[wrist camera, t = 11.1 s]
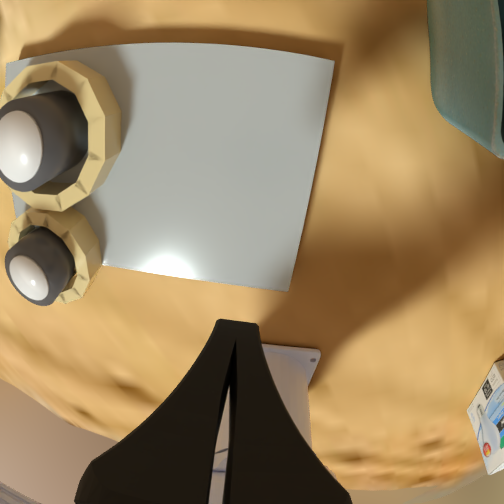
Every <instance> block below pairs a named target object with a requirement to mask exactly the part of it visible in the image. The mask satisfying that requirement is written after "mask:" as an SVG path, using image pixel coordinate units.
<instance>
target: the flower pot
mask: <svg viewBox="0 0 504 504" xmlns="http://www.w3.org/2000/svg"><path fill="white" fill-rule="evenodd" d="M427 17H428V27H429V40H430V62H431V91H432V97H433V101H434V104H435V106H436V108H437V110H438V111H439V113H440V114H441V115H442V116H443V118H444V119H445V120H446V121H448V122H449V123H450V124H451V125H453V126H454V127H456V128H457V129H459V130H460V131H462V132H463V133H465V134H466V135H467V136H469V137H470V138H472V139H473V140H475V141H476V142H478V143H479V144H481V145H482V146H483V147H485V148H486V149H487V150H489V151H490V152H492V153H493V154H494V155H495V156H497V157H498V158H501V159H504V0H427Z"/></svg>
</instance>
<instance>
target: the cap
mask: <svg viewBox="0 0 504 504" xmlns="http://www.w3.org/2000/svg"><path fill="white" fill-rule="evenodd" d="M87 151H88V120H87V118H86V116H85V114H84V112H83V110H82V108H81V106H80V104H79V102H78V99H77V97H76V95H75V94H73V93H71V92H68V91H63V90H62V91H53V92H47V93H42V94H37V95H32V96H27V97H23V98H18V99H14V100H11V101H9V102H7V103H6V104H5V105H4V106H3V107H2V108H1V109H0V178H1V179H2V180H3V181H4V182H5V183H6V184H7V185H8V186H9V187H11V188H12V189H14V190H16V191H20V192H29V191H32V190H34V189H36V188H38V187H39V186H41V185H43V184H44V183H46V182H48V181H49V180H51V179H53V178H55V177H56V176H58V175H60V174H62V173H63V172H65V171H67V170H69V169H70V168H72V167H74V166H76V165H77V164H78V163H79V162H80V161H81V160H82V159H83V158H84V156H85V154H86V153H87Z"/></svg>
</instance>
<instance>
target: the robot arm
mask: <svg viewBox="0 0 504 504" xmlns="http://www.w3.org/2000/svg"><path fill="white" fill-rule="evenodd" d="M320 357H321V352H320V350H318V349H310V348H298V347H288V346H278V345H269V344H262V343H261V339H260V333H259V326H258V325H257V324H256V323H249V322H241V321H233V320H226V319H219V320H217V321H216V324H215V327H214V329H213V331H212V333H211V335H210V337H209V339H208V341H207V343H206V345H205V346H204V348H203V350H202V351H201V353H200V354H199V356H198V358H197V359H196V361H195V362H194V364H193V365H192V367H191V368H190V370H189V371H188V372H187V374H186V375H185V376H184V378H183V379H182V380H181V382H180V383H179V384H178V385H177V387H176V388H175V389H174V390H173V392H172V393H171V394H170V395H169V396H168V397H167V398H166V399H165V401H164V402H163V403H162V404H161V405H160V406H159V407H158V408H157V409H156V410H155V411H154V412H153V413H152V414H151V415H150V416H149V417H148V418H147V419H146V420H145V421H144V422H143V423H141V424H140V425H139V426H138V427H137V428H136V429H134V430H133V431H132V432H131V433H130V434H128V435H127V436H126V437H125V438H124V439H122V440H121V441H120V442H118V443H117V444H116V445H115V446H113V447H112V448H110V449H109V450H107V451H106V452H104V453H103V454H101V455H100V456H98V457H97V458H96V459H94V460H93V461H91V463H90V464H89V466H88V467H87V469H86V470H85V472H84V474H83V476H82V478H81V480H80V482H79V485H78V489H77V492H76V496H75V500H74V502H75V504H352V501H351V498H350V495H349V493H348V492H347V491H346V490H345V489H344V488H343V487H342V486H341V484H340V483H339V482H338V481H337V479H336V476H335V474H334V473H333V472H332V471H331V470H329V468H328V467H327V466H324V465H323V464H322V463H321V461H320V460H319V459H318V458H317V456H316V454H315V453H314V452H313V450H312V441H311V426H310V412H309V399H308V385H309V383H310V380H311V378H312V376H313V374H314V371H315V369H316V366H317V364H318V362H319V359H320ZM312 358H314V359H312ZM0 504H41V503H38V502H36V501H34V500H32V499H30V498H29V497H27V496H25V495H23V494H21V493H19V492H17V491H16V490H14V489H12V488H10V487H9V486H7V485H5V484H3V483H2V482H0Z"/></svg>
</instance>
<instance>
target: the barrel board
mask: <svg viewBox="0 0 504 504" xmlns="http://www.w3.org/2000/svg"><path fill="white" fill-rule="evenodd" d="M334 63H335V61H333V60H328V59H323V58H319V57H314V56H308V55H303V54H297V53H291V52H285V51H278V50H271V49H264V48H255V47H246V46H236V45H223V44H206V43H138V44H121V45H109V46H99V47H90V48H82V49H75V50H68V51H62V52H56V53H50V54H45V55H40V56H35V57H31V58H26V59H22V60H18V61H14V62H10V63H6V80H5V89H4V90H3V93H2V95H1V98H0V109H1V108H2V107H3V106H4V105H5V104H6V103H7V102H9V101H11V100H14V99H18V98H23V97H27V96H32V95H37V94H42V93H47V92H53V91H62V90H63V91H68V92H71V93H73V94H75V95H76V97H77V99H78V102H79V104H80V106H81V108H82V110H83V112H84V114H85V116H86V118H87V120H88V151H87V153H86V154H85V156H84V158H83V159H82V160H81V161H80V162H79V163H78V164H77V165H76V166H74V167H72V168H70V169H69V170H67V171H65V172H63V173H62V174H60V175H58V176H56V177H55V178H53V179H51V180H49V181H48V182H46V183H44V184H43V185H41V186H39V187H38V188H36V189H34V190H32V191H29V192H20V191H16V190H14V189H12V188H11V187H9V186H8V187H9V189H10V190H11V191H12V196H13V202H14V208H15V214H16V219H15V220H14V221H13V222H12V223H11V228H10V233H9V238H8V245H9V250H8V252H7V253H6V256H5V268H6V272H7V275H8V277H9V279H10V281H11V283H12V285H13V286H14V287H15V289H16V290H17V291H18V292H19V293H20V294H21V295H22V296H23V297H24V298H25V299H27V300H28V301H30V302H32V303H34V304H36V305H40V306H47V305H50V304H52V303H53V302H54V301H57V302H61V303H65V304H67V303H69V302H72V301H75V300H77V299H80V298H82V297H83V296H84V294H85V293H86V291H87V290H88V289H89V287H90V286H91V284H92V283H93V282H94V279H95V277H96V275H97V273H98V271H99V269H100V267H101V265H106V266H112V267H118V268H124V269H131V270H137V271H143V272H149V273H156V274H162V275H169V276H175V277H182V278H189V279H195V280H202V281H209V282H216V283H224V284H231V285H238V286H246V287H253V288H261V289H269V290H277V291H285V292H288V290H289V286H290V282H291V278H292V273H293V269H294V265H295V261H296V256H297V252H298V247H299V243H300V239H301V234H302V230H303V225H304V220H305V216H306V211H307V207H308V202H309V197H310V192H311V187H312V183H313V178H314V173H315V168H316V163H317V158H318V153H319V147H320V142H321V137H322V132H323V126H324V121H325V115H326V110H327V104H328V98H329V93H330V87H331V81H332V75H333V69H334ZM76 272H77V275H76V276H74V275H75V274H76ZM73 276H74V277H73Z"/></svg>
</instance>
